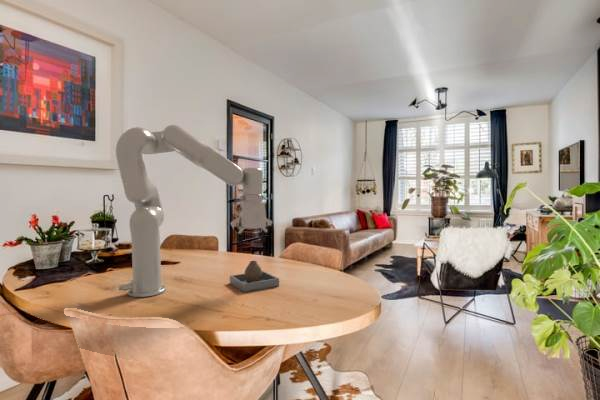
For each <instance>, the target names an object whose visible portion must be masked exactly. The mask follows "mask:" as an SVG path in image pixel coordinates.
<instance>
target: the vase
mask: <svg viewBox="0 0 600 400" xmlns="http://www.w3.org/2000/svg"><path fill="white" fill-rule="evenodd" d="M262 271H263V270H262V268H261V266H260V265H259V263H257V260H251V261H249V263H248V265H247V266H246V267H245V269H244V274H245V280H246V282H247V283H251V282H257V281H261V279H262Z"/></svg>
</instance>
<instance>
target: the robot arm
mask: <svg viewBox="0 0 600 400" xmlns="http://www.w3.org/2000/svg"><path fill="white" fill-rule="evenodd" d="M170 152H175V153H177V154H179V155H180V156H182V157H183V158H185V159H186V160H188V161H190V162H191V163H192V164H194V165H196V166H197V167H199V168H202V169H204V170H206V171H208V172H209V173H211V174H212V175H214V176H215V177H217V178H218V179H220V181H223V182H224V183H225V184H227V185H228V186H230V187H235V186H243V187H242V195H240V196H239V200H241V201H242V202H240V206H239V214H238V217H237V218H236V219H234V220H232V221H230V225H231V227H232V230H234V232H235V233H236V242H237V243H238V244H239V245H242V244H243V239H244V238H243V237H244V235H243V231H244V230H245V229H248V230H250V229H251V230H252V229H253V230H254V229H260V230H261V231H260V239H259V240H260V242H261V243H266V240H267V233H268V232H269V230H270V229H271V227H272V224H273V221H272V220H271V219H269V218H267V213H266V206H265V203H264V202H263V185H264V184H263V183H264V182H263V179H264V178H263V176H264V174H263V173H264V172H263V171H264V170H263V169H262V168H260V167H246V168H241V167H240V166H238V165H237V164H235V163H234V162H232V161H231V160H229V159H228V158H226V157H225V156H224V155H222V154H220V153H219V152H217V150H215V149H213V148H212V147H210V146H209V145H207V144H205V143H204V142H203V141H202V140H200V139H199V138H197V137H195V136H194V135H192V134H191V133H190V132H188V131H186V129H184V128H182V127H180V126H178V125H176V124H171V125H170V124H169V125H167V126H166V127H165V128H164V129H163V130H161V131H149V130H147V129H145V128H143V127H138V126H137V127H131V128H128V129H127V130H126V131H124V133H122V134H121V135H120V136H119V139H118V140H117V142H116V145H115V157H116V161H117V165H118V170H119V174H120V179H121V183H122V185H123V190H124V191H123V192H124V195H125V197H126V199H127V200H128V201H129V202H131V203H132V204H134V207H135V210H134V211H133V212H132V214H131V215H130V218H129V232H130V237H131V238H130V239H131V261H132V262H131V263H132V267H131V268H132V279H131V281H130V282H128V283H126V284H123V283H122V284H118V291H122V292H124V291H128V296H130V297H132V298H133V297H134V298H146V297H147V298H148V297H154V296H157V295H160V294H163V293H164V292H165V291H166V290H167V288H166V285H164V284H162V264H161V263H162V259H161V256H162V255H161V236H160V227H161V225H162V224H163V222H164V220H165V219H164V217H165V216H164V215H165V213H164V211H163V207H162V202H161V198H160V194H159V191H158V188H157V186H156V184H155V183H154V182H153V181H152V180H150V179H149V175H148V172H147V168H146V164H145V161H144V160H143V155H155V154H163V153H170ZM237 224H238V227H237Z"/></svg>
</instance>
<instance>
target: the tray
mask: <svg viewBox="0 0 600 400" xmlns="http://www.w3.org/2000/svg"><path fill="white" fill-rule="evenodd" d="M230 283H231V284H230ZM229 284H230V285H232V286H233V285H234V286H233V287H234V288H236V287H237V288H236V289H238V290H239V289H240V292H242V291H243V292H242V293H248V292H247V291H250V292H254V291H253V290H255V291H260V290H259V289H261V290H265V289H264V288H266V289H271V288H270V287H272V288H275V287H276V286H277V287H279V286H280V278H279V277H276V276H274V275H273V274H271V273H270V272H269V273H268V272H266V271H264V270H262V279H261V281H257V282H251V283H247V282H246V280H245V273H238V274H234V275H229ZM277 287H276V288H277Z"/></svg>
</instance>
